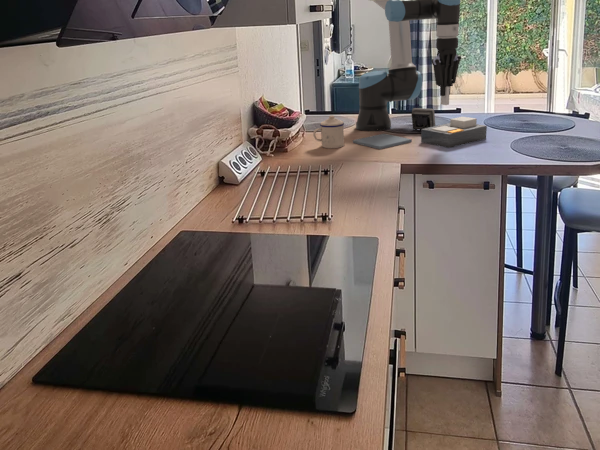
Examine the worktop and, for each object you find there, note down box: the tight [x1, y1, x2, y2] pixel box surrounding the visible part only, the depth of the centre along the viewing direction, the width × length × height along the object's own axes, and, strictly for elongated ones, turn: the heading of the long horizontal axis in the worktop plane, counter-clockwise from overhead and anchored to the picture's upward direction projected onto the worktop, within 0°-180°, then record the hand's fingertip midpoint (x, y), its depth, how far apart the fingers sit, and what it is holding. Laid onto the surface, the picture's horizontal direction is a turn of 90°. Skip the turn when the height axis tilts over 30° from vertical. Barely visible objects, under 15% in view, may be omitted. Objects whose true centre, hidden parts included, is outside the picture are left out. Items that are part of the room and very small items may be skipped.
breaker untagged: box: [449, 116, 478, 128], centre depth 219 cm, size 7×7×3 cm
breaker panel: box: [420, 122, 488, 149], centre depth 218 cm, size 14×20×5 cm
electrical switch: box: [410, 107, 436, 130], centre depth 238 cm, size 9×5×9 cm, turn 57°
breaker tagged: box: [431, 126, 458, 133], centre depth 215 cm, size 7×7×3 cm
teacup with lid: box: [312, 115, 345, 149], centre depth 220 cm, size 12×9×12 cm
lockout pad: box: [352, 133, 413, 150], centre depth 223 cm, size 16×16×1 cm
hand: (444, 104), depth 212 cm, fingers closed
